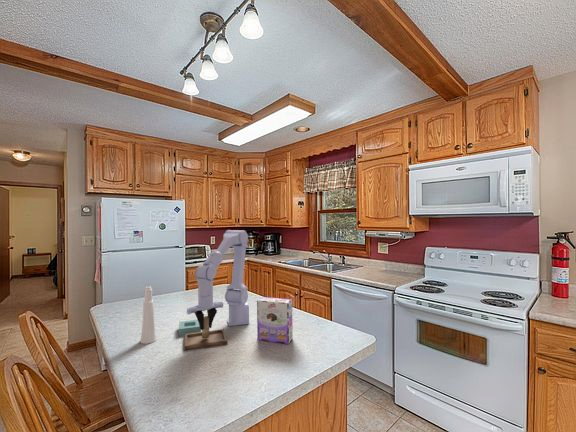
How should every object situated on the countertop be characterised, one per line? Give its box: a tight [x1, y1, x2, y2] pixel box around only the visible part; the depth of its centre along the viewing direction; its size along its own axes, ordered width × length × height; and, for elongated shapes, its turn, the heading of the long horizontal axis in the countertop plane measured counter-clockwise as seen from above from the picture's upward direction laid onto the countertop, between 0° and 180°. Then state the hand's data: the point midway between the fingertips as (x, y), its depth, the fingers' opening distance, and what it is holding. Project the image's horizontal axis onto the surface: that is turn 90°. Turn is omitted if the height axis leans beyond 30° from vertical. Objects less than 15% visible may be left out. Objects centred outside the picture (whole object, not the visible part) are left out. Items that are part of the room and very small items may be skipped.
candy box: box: [256, 296, 294, 345], centre depth 117 cm, size 14×6×16 cm, turn 71°
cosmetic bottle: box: [139, 285, 157, 345], centre depth 115 cm, size 6×6×22 cm
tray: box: [184, 328, 229, 351], centre depth 115 cm, size 16×12×2 cm
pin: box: [201, 315, 210, 338], centre depth 115 cm, size 3×3×8 cm
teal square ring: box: [178, 319, 202, 337], centre depth 125 cm, size 9×9×3 cm
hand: (205, 328), depth 115 cm, fingers closed on pin, 3 cm apart
